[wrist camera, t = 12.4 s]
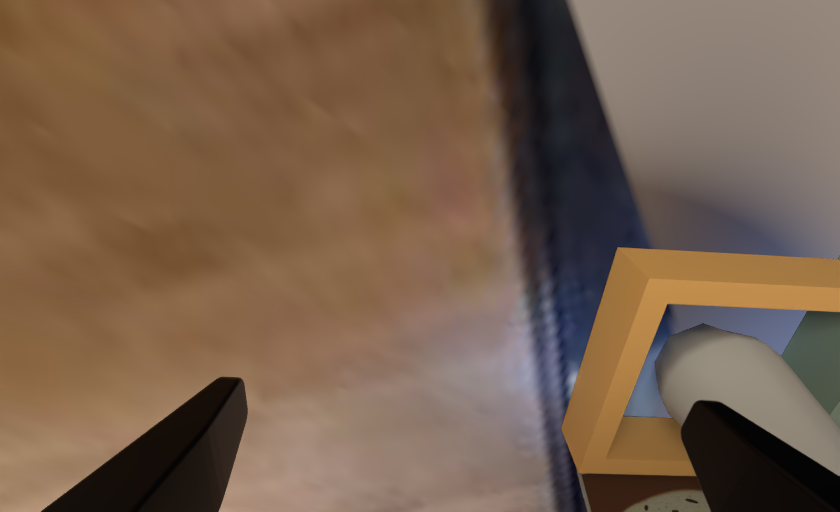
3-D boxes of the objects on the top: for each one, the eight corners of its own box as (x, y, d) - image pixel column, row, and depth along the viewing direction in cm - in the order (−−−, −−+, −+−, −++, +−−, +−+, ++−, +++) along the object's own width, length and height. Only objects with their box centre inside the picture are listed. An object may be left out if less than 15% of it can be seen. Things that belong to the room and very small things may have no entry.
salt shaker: (628, 336, 23) (856, 642, 11) (737, 293, 22) (1117, 583, 10) (654, 405, 25) (863, 716, 14) (753, 369, 24) (1074, 674, 12)
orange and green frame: (878, 447, 27) (939, 499, 24) (558, 437, 26) (578, 490, 23) (1035, 255, 21) (1145, 292, 18) (622, 232, 20) (661, 267, 17)
